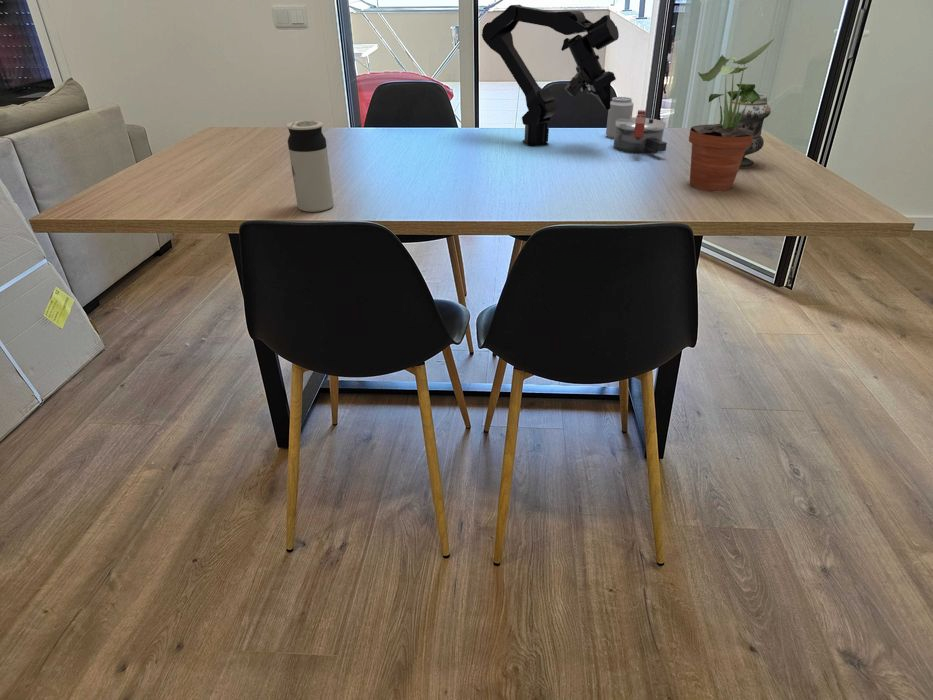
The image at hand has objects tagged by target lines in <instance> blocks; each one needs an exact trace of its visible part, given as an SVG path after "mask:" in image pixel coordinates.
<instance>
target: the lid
mask: <svg viewBox="0 0 933 700" xmlns="http://www.w3.org/2000/svg"><path fill="white" fill-rule="evenodd" d="M646 115H647V110H645V109H643V110H642V109H641V110H639V109H638V110H637V115H636V117H632V118H621V119H618V120H616V123H615V126H616V127H617V128H620V129H623V130H629V131H634V136H633V137H641V138H643V134H644V132H652V131H660V130H663V129H664V130H665V128H666V122H665V121H663V120H660V119H656V118H649V117H647V116H646Z"/></svg>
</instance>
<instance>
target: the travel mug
mask: <svg viewBox="0 0 933 700" xmlns="http://www.w3.org/2000/svg"><path fill="white" fill-rule="evenodd" d="M323 125H324V124H323V122H321V121H319V120H308V119H307V120H306V119H304V120H296V121H292V122H291V121H290V122H288V123H287V124H286V128H287V129H288V130H287V131H288V133H289V136H288V139H287V147H288V153H289V159H290V160H289V161H290V166H291V172H292V179H293V185H294V192H295V199H296V200H295V201H296V205H297V208H298V210H300V211H304V212H307V213H319V212H324V211H327V210H329V209H331V208H333V207H334V197H333V196H334V195H333V189H332V179H331V172H330V163H329V155H328V148H327V147H328V146H327V139H326V137H325V135H324V134H323V131H322V129H323Z"/></svg>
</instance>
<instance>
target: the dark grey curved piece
mask: <svg viewBox="0 0 933 700" xmlns="http://www.w3.org/2000/svg"><path fill="white" fill-rule="evenodd" d="M664 130H665V129H663V130H660V131H652V132H644V134H643V138H641V137H633V136H634V131H629V130H623V129H620V128H617V127H616V129H615V137H614V139H613V149H614V150H616V151H619V152H621V151H622V152H621V153H628V154H635V153H637V154H638V155H639V154H641V155H645V154H647V155H648V154H656V153H658V151H659V152H665V151H666V149H667V144H668V143H667V142H665V141H663V136H664ZM637 154H636V155H637Z"/></svg>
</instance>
